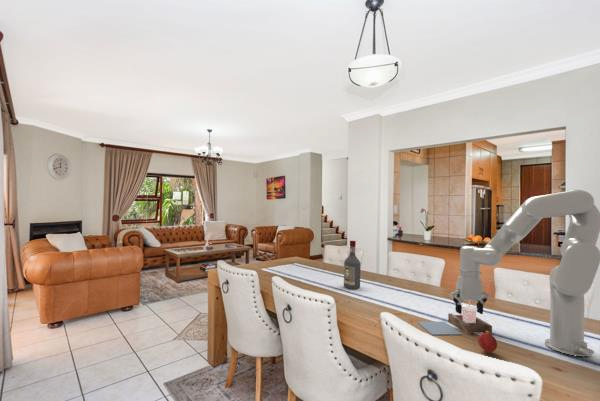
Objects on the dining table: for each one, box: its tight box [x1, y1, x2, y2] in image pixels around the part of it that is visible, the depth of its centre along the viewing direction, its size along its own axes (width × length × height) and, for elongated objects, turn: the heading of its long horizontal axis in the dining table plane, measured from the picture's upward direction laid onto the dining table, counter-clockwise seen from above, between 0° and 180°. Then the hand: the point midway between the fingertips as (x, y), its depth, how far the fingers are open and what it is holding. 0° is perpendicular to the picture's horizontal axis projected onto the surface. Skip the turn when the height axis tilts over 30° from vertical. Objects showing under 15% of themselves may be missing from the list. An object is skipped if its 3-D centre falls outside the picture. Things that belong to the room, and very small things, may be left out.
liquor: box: [343, 240, 361, 290], centre depth 188 cm, size 9×9×30 cm
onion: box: [477, 331, 498, 354], centre depth 106 cm, size 6×6×8 cm
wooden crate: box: [447, 313, 493, 335], centre depth 128 cm, size 14×11×4 cm
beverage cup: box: [461, 301, 477, 323], centre depth 128 cm, size 6×6×14 cm
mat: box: [416, 321, 463, 336], centre depth 126 cm, size 13×13×1 cm
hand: (469, 312), depth 128 cm, fingers open, 9 cm apart
